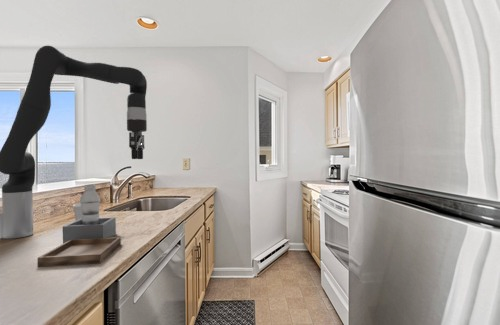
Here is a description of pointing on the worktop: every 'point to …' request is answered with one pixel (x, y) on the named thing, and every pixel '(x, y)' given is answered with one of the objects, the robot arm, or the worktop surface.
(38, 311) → the worktop surface
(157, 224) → the worktop surface
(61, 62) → the robot arm
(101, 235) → the holder
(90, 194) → the plastic bottle
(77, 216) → the dixie cup
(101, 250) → the tray
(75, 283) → the worktop surface
